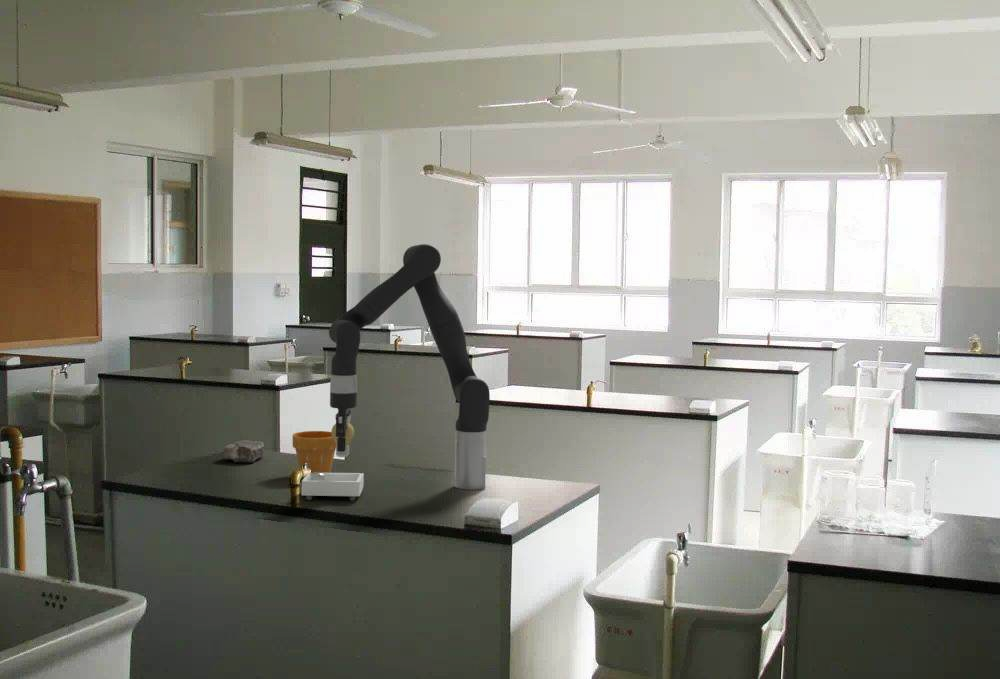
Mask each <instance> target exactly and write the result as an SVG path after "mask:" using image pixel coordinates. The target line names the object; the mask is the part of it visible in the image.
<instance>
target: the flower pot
mask: <svg viewBox="0 0 1000 679" xmlns="http://www.w3.org/2000/svg"><path fill="white" fill-rule="evenodd" d="M336 445H337V444H336V442H335V441H334V439H333V438H332V434H331V431H325V430H309V431H308V430H305V431H304V430H303V431H300V432H295V433H292V447H293V448H294V450H295V452H296V457H297V458H296V459H297V463H298V468H299V467H301V466H302V465H304V464H305V463H309V467H310V468H311V473H313V472H323V473H331V472H332V471H331V470H332V468H333V467H332V466H333V461H334V457H335V454H336Z"/></svg>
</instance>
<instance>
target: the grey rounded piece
mask: <svg viewBox="0 0 1000 679" xmlns="http://www.w3.org/2000/svg"><path fill="white" fill-rule="evenodd" d="M310 481H325V473H323V472H313V473H310Z"/></svg>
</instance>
